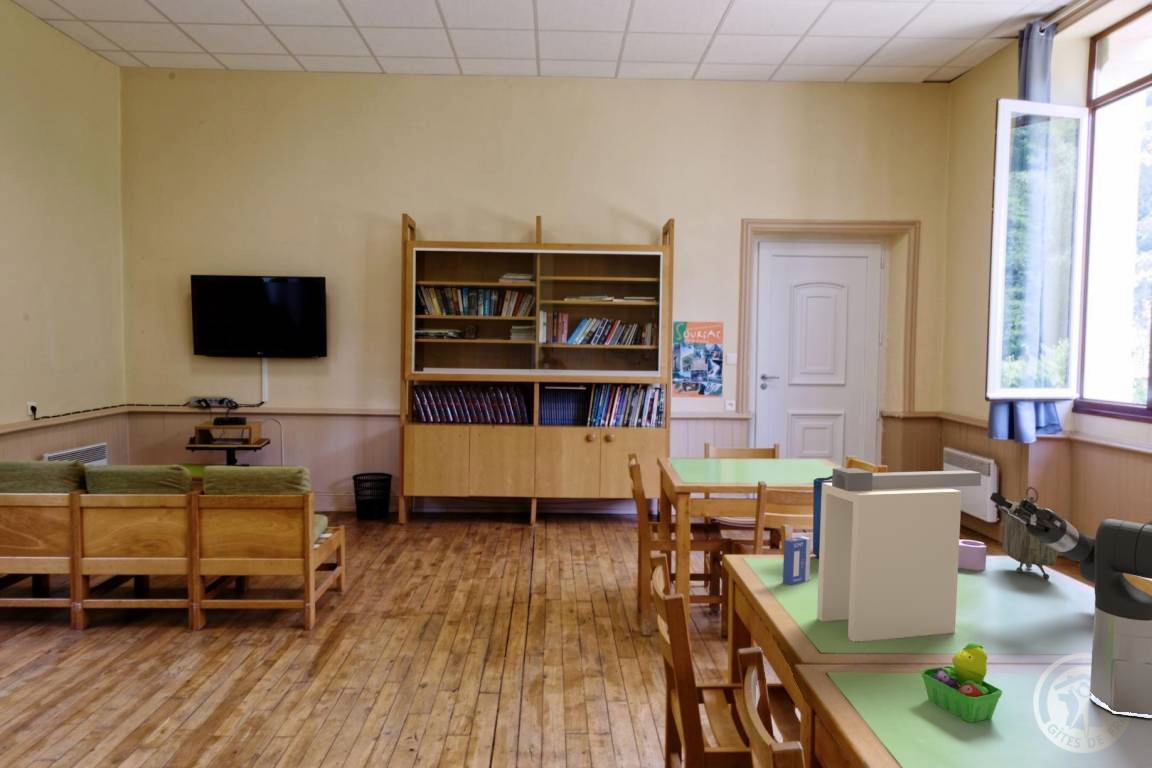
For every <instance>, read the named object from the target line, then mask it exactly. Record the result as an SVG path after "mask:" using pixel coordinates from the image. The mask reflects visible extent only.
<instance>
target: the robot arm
mask: <svg viewBox="0 0 1152 768" xmlns="http://www.w3.org/2000/svg"><path fill="white" fill-rule="evenodd" d="M990 501H992V502H993V503H995V505H994V507H995V508H996V509H997V510H999V511H1000V512H1003V513H1004V514H1007V515H1008V516H1010V517H1011V518H1014V517H1015V518H1017V519H1019V520H1020V521H1021V522H1023V523H1026V529H1027V531H1028V532H1029V534H1031V535H1032V536H1034V537H1035V538H1037V539H1038V540H1040V541H1041V542H1043V543H1044V544H1045V545H1047V546H1048V547H1050V548H1052V549H1054V550H1056V551H1057V553H1059V554H1060V555H1062V556H1063V557H1064V558H1067V559H1068V560H1070V561H1075V562H1076V561H1077V562H1078V561H1079V564H1078V565H1079V566H1078V568H1079V573H1080V575H1081V577H1082V578H1083V579H1084V580H1086V581H1088V582H1090V583H1094V596H1095V597H1094V615H1093V616H1094V618H1093V629H1092V630H1093V631H1092V647H1091V648H1092V649H1091V665H1090V685H1089V686H1090V687H1089V693H1090V692H1091V693H1092V694H1093V695H1094V696H1095V697H1096V698H1098V699H1099V700H1100V701H1101V702H1103V703H1105V704H1106V705H1108V707H1109V708H1110V709H1111V710H1113V711H1116V712H1129V713H1130V712H1131V713H1137V714H1148V715H1152V595H1151V594H1148V593H1147V592H1145V591H1143V590H1141V589H1140V588H1138V587H1137V586H1135V585H1134V584H1132V583H1131V582H1130V581H1129V580H1128V579H1127V578H1126V577H1125V575H1124V574H1126V575H1130V576H1134V577H1135V576H1136V577H1140V578H1145V579H1152V519H1150V520H1149V521H1148V522H1145V523H1141V522H1135V521H1128V520H1121V519H1116V518H1105V519H1103V520H1102V521H1101V522H1100V524H1099V525H1098V527H1097V530H1096V532H1095V537H1091V536H1089V535H1086V534H1084V533H1083V532H1081V531H1080V530H1078V529H1077V528H1075V527H1074V525H1072V524H1071V523H1069V521H1067V520H1066V519H1064V518H1063V517H1062V516H1060V515H1058V514H1057V513H1056V512H1054V511H1053V510H1051V509H1050V508H1042V507H1041V506H1040V507H1037V506H1035V505H1033V504H1032V503H1030V501H1029V500H1027V499H1025V498H1023V499H1022V500H1021V501H1020V502H1018V501H1012V500H1009V499H1007V498H1006V497H1004V496H1003V495H1001V494H1000V493H998V492H996V491H993V492H992V493H991V495H990ZM1017 506H1018V508H1017Z"/></svg>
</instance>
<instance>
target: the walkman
mask: <svg viewBox="0 0 1152 768" xmlns="http://www.w3.org/2000/svg"><path fill="white" fill-rule="evenodd" d="M811 540H812V539H811V537H807V536H803V535H802V536H797V537H793V538H792V537H791V538H787V539H786V538H785V539H784V540H783V541H784V542H783V567H782V583H785V584H787V585H789V586H793V585H796V584H800V583H805V582H808V581H810V566H811V543H812V541H811Z"/></svg>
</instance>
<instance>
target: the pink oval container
mask: <svg viewBox="0 0 1152 768" xmlns="http://www.w3.org/2000/svg"><path fill="white" fill-rule="evenodd" d="M986 566H987V545H985V542H982V541H977V540H973V539H972V540H971V539H960V538H959V557H958V569H965V570H972V571H985V570H986V568H987V567H986Z"/></svg>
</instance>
